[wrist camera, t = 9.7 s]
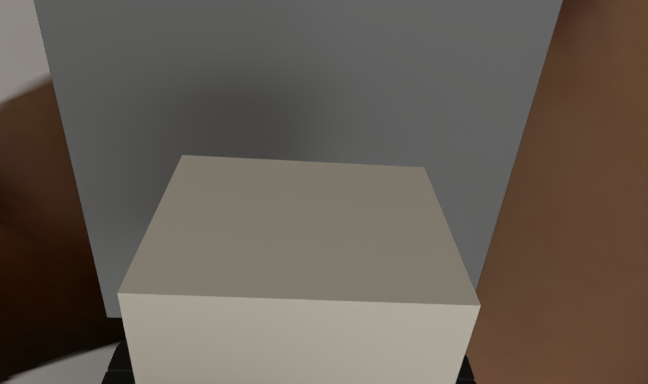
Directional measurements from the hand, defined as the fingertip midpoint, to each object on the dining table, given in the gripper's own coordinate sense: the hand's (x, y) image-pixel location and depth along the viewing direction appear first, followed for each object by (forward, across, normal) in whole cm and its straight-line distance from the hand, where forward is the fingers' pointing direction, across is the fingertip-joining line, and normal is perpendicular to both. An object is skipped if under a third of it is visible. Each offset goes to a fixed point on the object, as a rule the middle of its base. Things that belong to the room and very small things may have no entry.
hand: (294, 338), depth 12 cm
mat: (+10, 0, 0) cm, 10 cm away
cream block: (+1, 0, 0) cm, 1 cm away
